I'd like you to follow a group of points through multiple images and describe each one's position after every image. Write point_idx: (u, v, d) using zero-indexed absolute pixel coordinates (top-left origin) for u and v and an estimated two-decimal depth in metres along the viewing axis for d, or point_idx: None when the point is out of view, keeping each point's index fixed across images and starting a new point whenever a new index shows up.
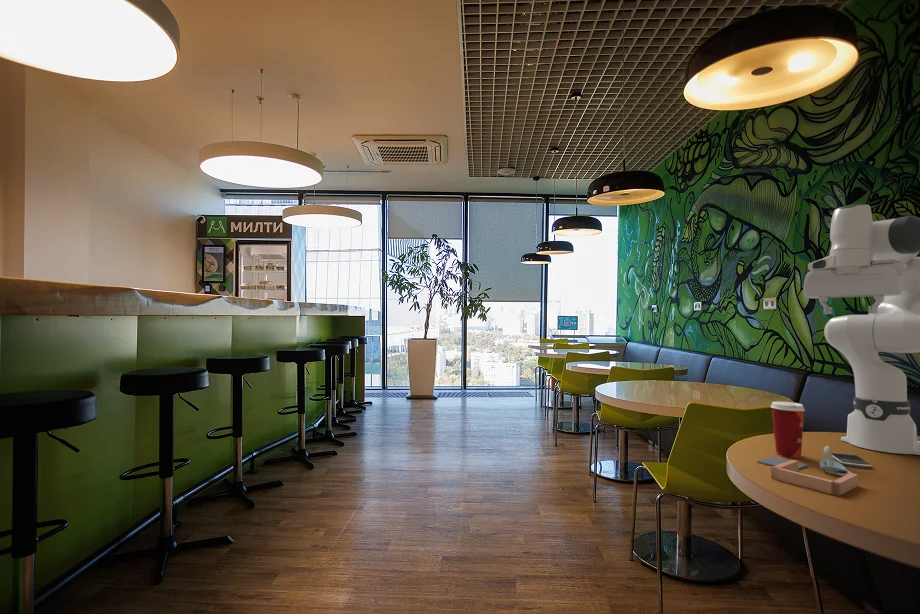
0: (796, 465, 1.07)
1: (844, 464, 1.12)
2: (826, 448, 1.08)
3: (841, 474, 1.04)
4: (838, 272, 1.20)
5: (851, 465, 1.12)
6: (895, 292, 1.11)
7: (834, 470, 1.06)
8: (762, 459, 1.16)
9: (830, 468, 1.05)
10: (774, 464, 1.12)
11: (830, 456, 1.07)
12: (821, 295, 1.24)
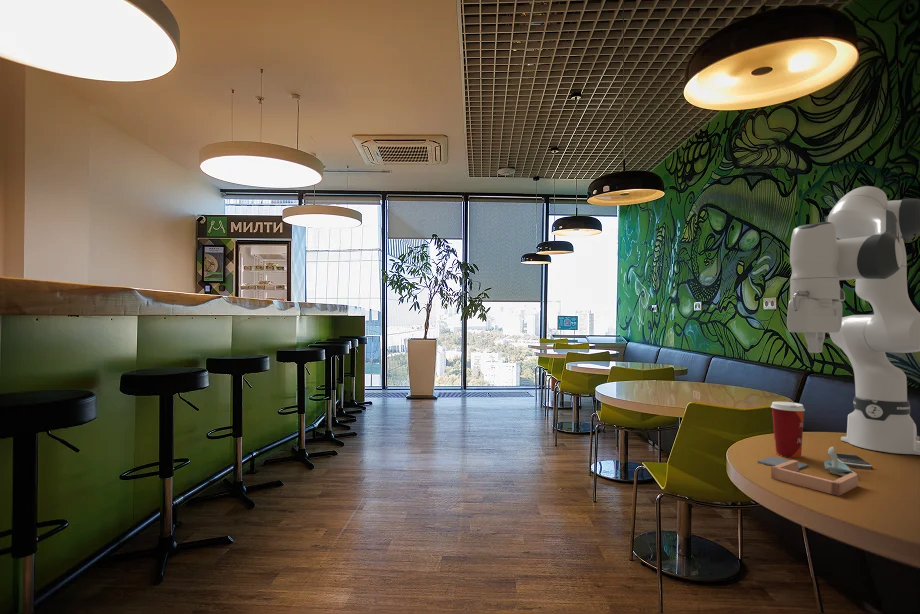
0: (796, 465, 1.07)
1: None
2: (831, 449, 1.07)
3: None
4: None
5: (851, 465, 1.12)
6: (789, 330, 0.98)
7: (839, 471, 1.05)
8: (762, 459, 1.16)
9: (835, 469, 1.05)
10: (774, 464, 1.12)
11: (835, 457, 1.06)
12: None
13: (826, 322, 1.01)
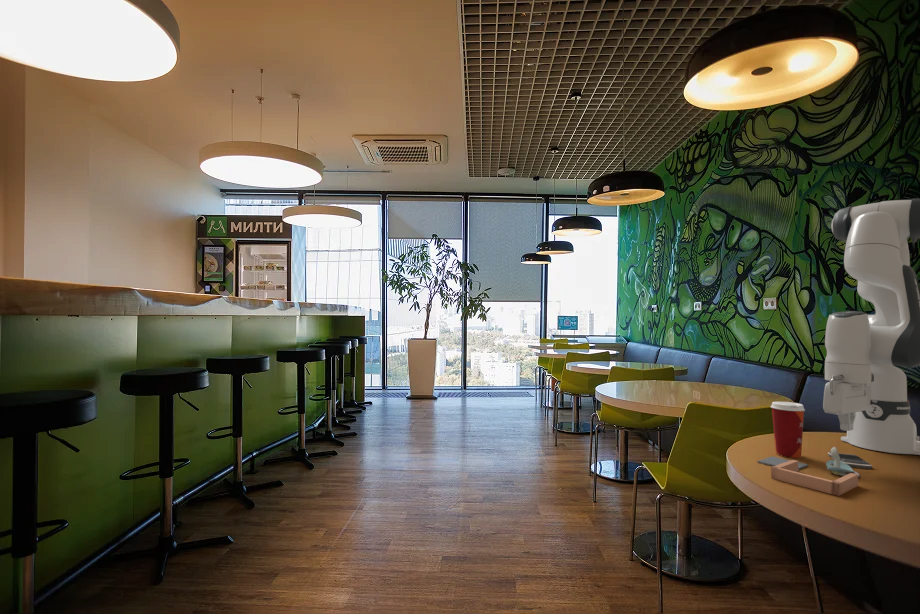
0: (796, 465, 1.07)
1: None
2: (833, 449, 1.07)
3: None
4: None
5: (851, 465, 1.12)
6: (825, 411, 1.08)
7: (841, 471, 1.05)
8: (762, 459, 1.16)
9: (837, 469, 1.05)
10: (774, 464, 1.12)
11: (837, 457, 1.06)
12: None
13: (858, 403, 1.11)
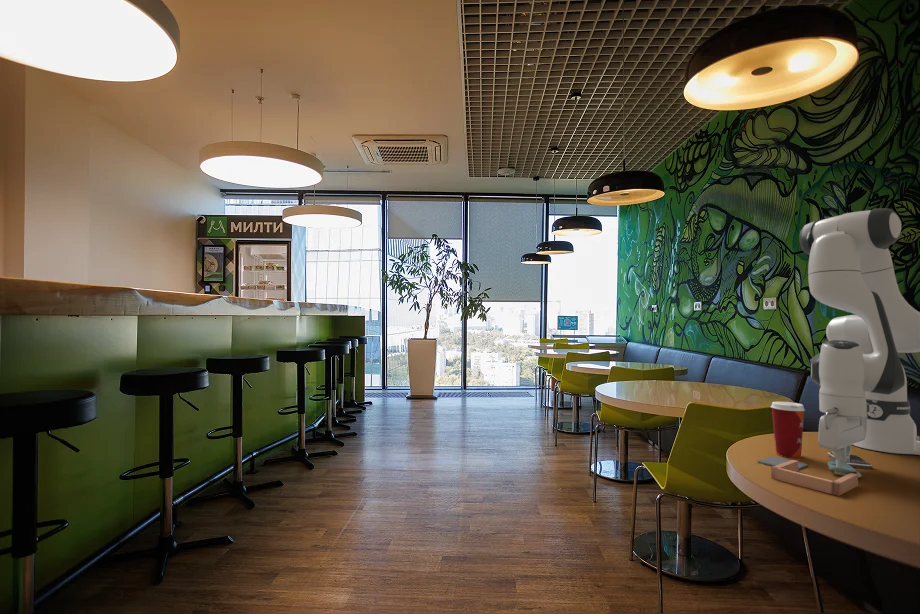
0: (796, 465, 1.07)
1: None
2: None
3: None
4: None
5: (852, 465, 1.12)
6: (820, 446, 1.06)
7: (843, 471, 1.04)
8: (762, 459, 1.16)
9: (839, 469, 1.04)
10: (774, 464, 1.12)
11: (839, 457, 1.06)
12: None
13: (853, 435, 1.09)
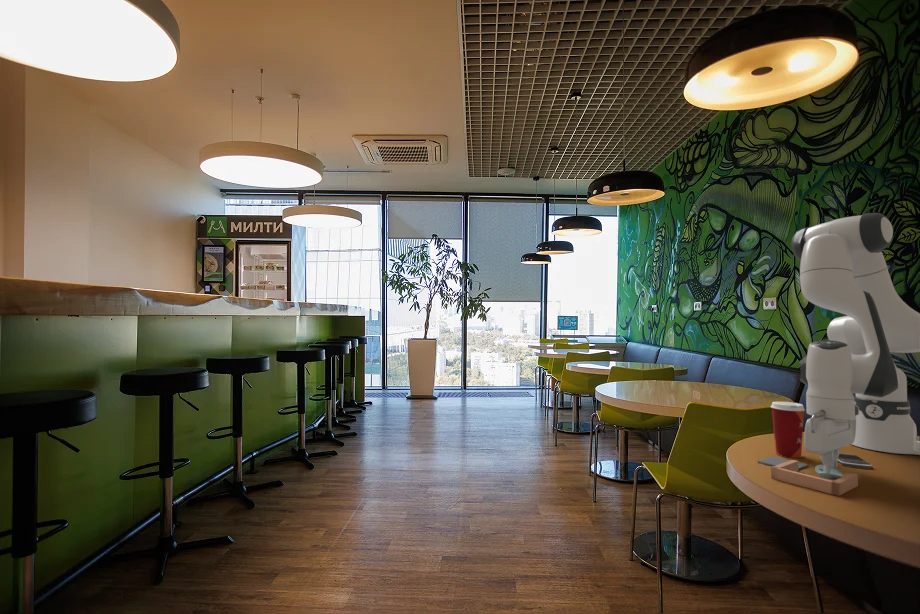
0: (796, 465, 1.07)
1: (845, 464, 1.12)
2: None
3: None
4: None
5: (852, 465, 1.12)
6: (806, 450, 1.02)
7: (832, 477, 1.00)
8: (762, 459, 1.16)
9: (828, 475, 1.00)
10: (774, 464, 1.12)
11: (827, 462, 1.01)
12: None
13: (841, 438, 1.05)
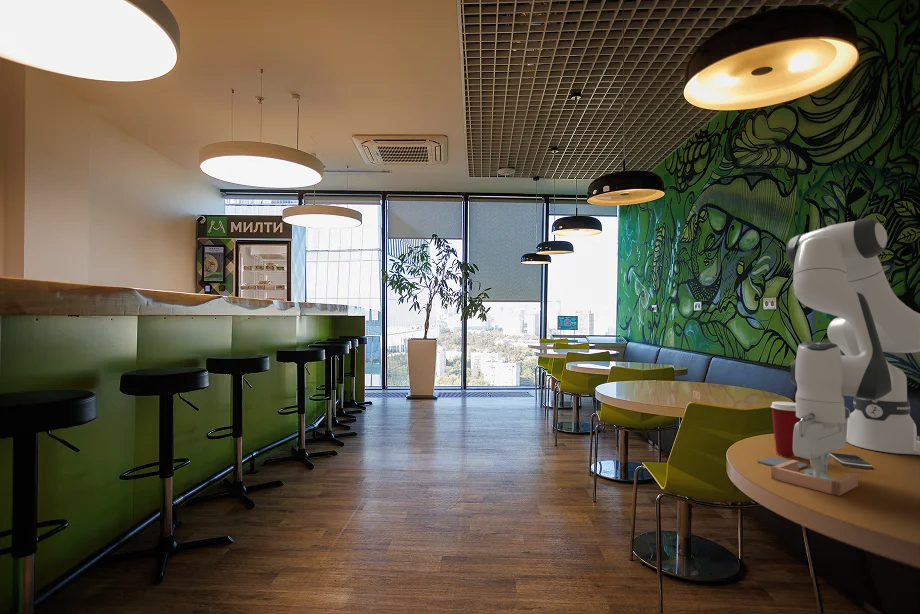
0: (796, 465, 1.07)
1: (845, 464, 1.12)
2: None
3: None
4: None
5: (852, 465, 1.12)
6: (794, 454, 0.99)
7: None
8: (762, 459, 1.16)
9: None
10: (774, 464, 1.12)
11: (817, 466, 0.98)
12: None
13: (831, 442, 1.02)
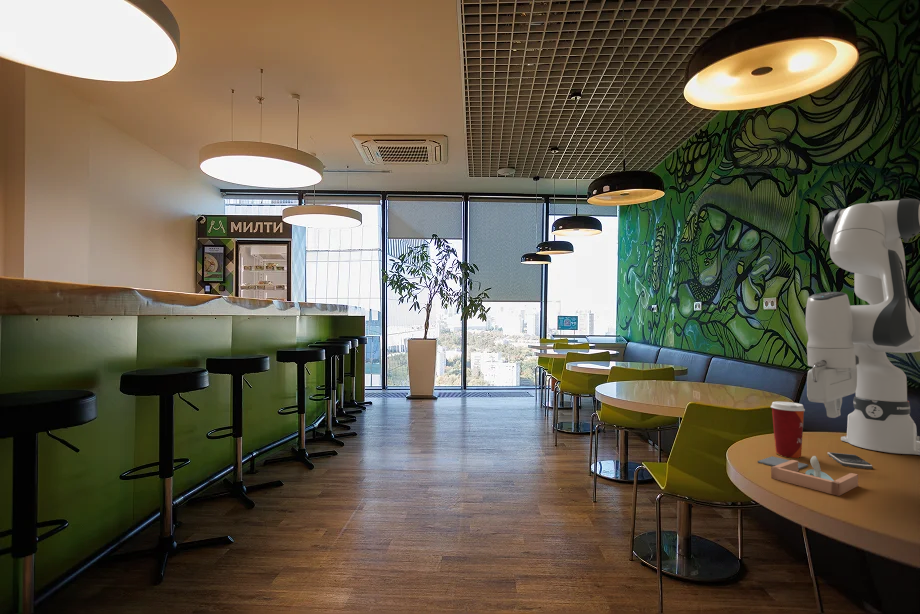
0: (796, 465, 1.07)
1: (845, 464, 1.12)
2: (813, 458, 0.99)
3: None
4: None
5: (852, 465, 1.12)
6: (809, 400, 1.03)
7: None
8: (762, 459, 1.16)
9: None
10: (774, 464, 1.12)
11: (818, 467, 0.98)
12: None
13: (843, 388, 1.06)
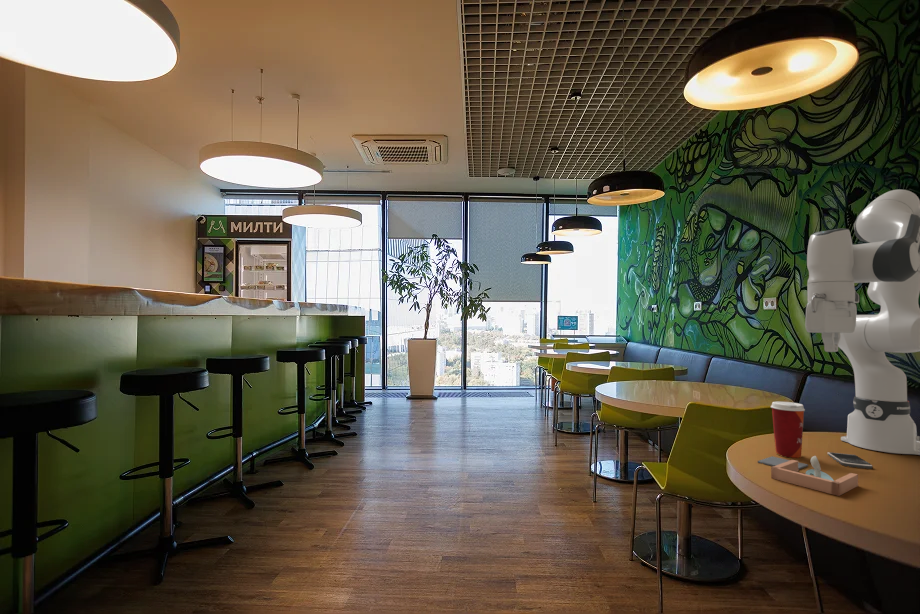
0: (796, 465, 1.07)
1: (845, 464, 1.12)
2: (813, 458, 0.99)
3: None
4: None
5: (852, 465, 1.12)
6: (807, 331, 1.04)
7: None
8: (762, 459, 1.16)
9: None
10: (774, 464, 1.12)
11: (818, 467, 0.98)
12: None
13: (842, 323, 1.07)
